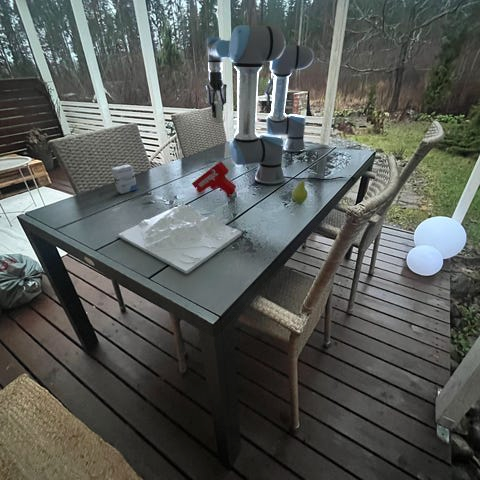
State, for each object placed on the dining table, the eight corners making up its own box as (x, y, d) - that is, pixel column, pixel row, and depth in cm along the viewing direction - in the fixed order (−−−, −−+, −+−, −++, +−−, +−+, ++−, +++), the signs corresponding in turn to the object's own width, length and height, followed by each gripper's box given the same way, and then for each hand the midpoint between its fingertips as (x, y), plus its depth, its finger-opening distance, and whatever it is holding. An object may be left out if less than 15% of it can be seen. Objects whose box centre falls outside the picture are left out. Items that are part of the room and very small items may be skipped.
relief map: (186, 274, 80) (184, 260, 77) (118, 236, 97) (114, 224, 95) (241, 234, 98) (241, 222, 95) (176, 209, 116) (174, 198, 113)
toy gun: (240, 187, 127) (221, 160, 123) (237, 190, 124) (218, 163, 120) (214, 205, 137) (195, 180, 133) (210, 208, 134) (191, 183, 130)
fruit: (288, 200, 123) (290, 174, 116) (302, 197, 125) (305, 172, 119) (296, 206, 118) (299, 179, 111) (310, 203, 120) (314, 177, 114)
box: (212, 122, 166) (211, 102, 160) (218, 121, 168) (217, 101, 162) (217, 123, 162) (216, 102, 156) (223, 122, 164) (222, 102, 158)
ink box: (133, 186, 138) (127, 163, 132) (137, 189, 135) (132, 165, 129) (116, 191, 133) (110, 167, 127) (121, 194, 130) (114, 170, 124)
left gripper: (205, 72, 144) (208, 119, 157) (232, 71, 153) (232, 116, 165) (198, 71, 149) (202, 117, 162) (224, 71, 158) (225, 115, 170)
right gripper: (267, 72, 189) (265, 105, 201) (292, 71, 202) (289, 103, 213) (260, 72, 195) (259, 104, 206) (285, 71, 207) (283, 102, 218)
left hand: (217, 117), depth 163 cm, fingers closed on box, 4 cm apart
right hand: (274, 104), depth 210 cm, fingers open, 13 cm apart
